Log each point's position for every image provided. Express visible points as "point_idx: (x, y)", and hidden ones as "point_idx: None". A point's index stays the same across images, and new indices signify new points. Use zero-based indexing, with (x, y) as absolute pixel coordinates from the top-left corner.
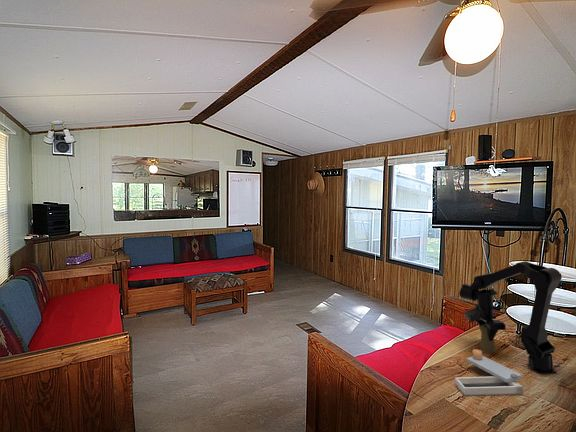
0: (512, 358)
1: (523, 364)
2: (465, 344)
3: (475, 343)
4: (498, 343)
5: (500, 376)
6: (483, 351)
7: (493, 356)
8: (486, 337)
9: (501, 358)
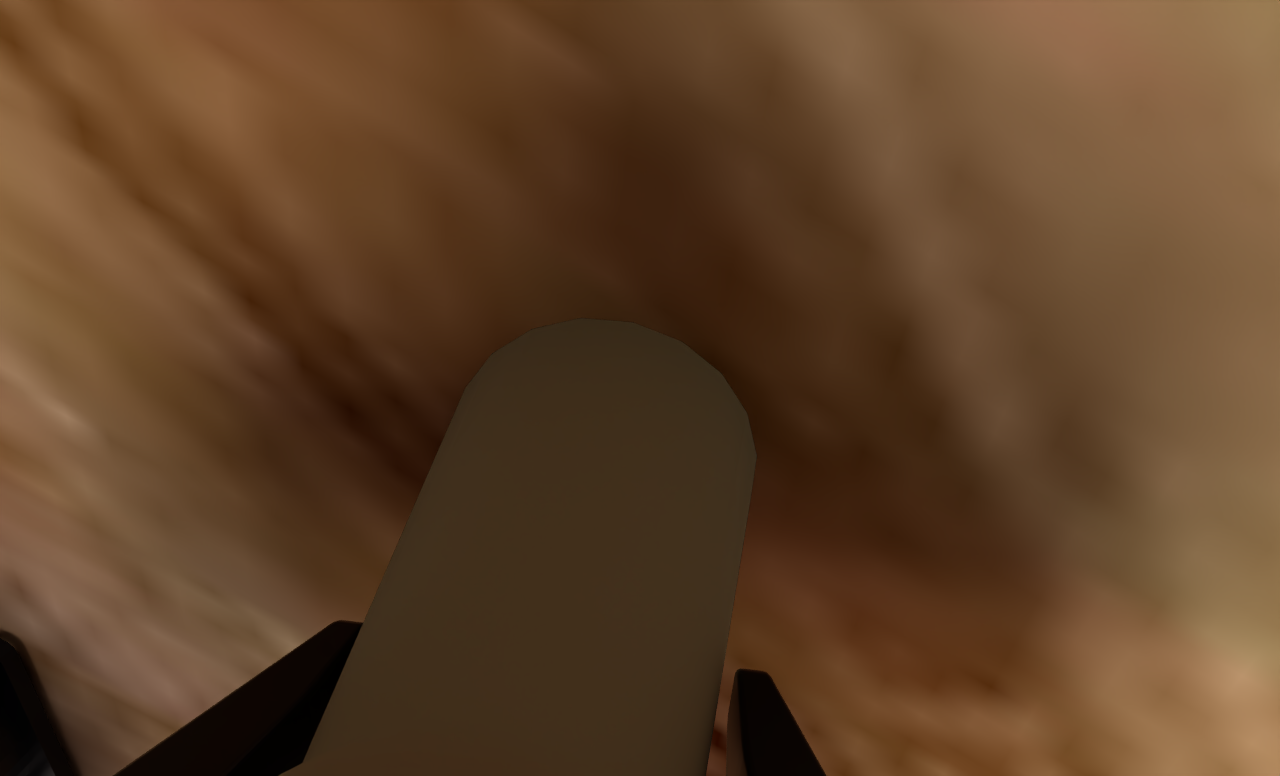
0: (239, 609)
1: (49, 617)
2: (1029, 124)
3: (985, 410)
4: (835, 761)
5: None
6: (531, 331)
7: (289, 381)
8: (361, 652)
9: (216, 462)
